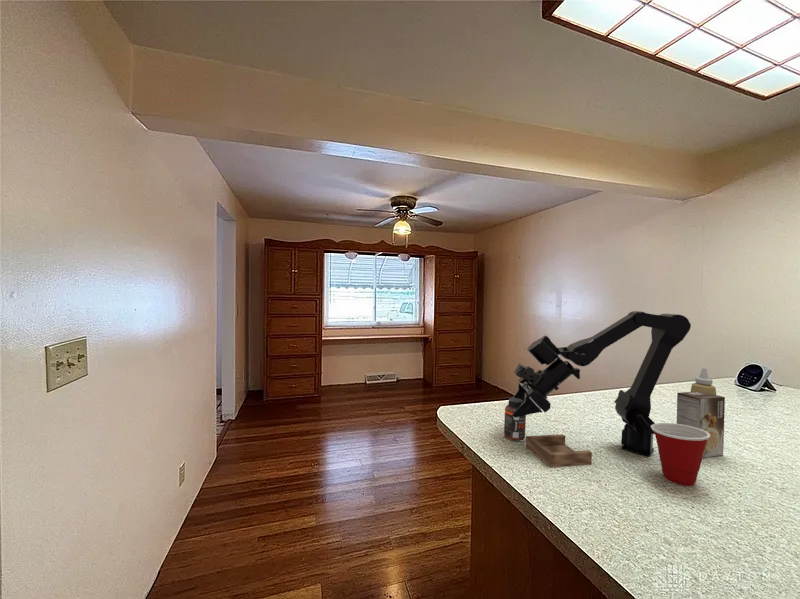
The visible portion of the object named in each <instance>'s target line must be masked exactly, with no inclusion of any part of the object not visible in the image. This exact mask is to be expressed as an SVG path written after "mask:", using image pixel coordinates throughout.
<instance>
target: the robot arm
mask: <svg viewBox="0 0 800 599" xmlns="http://www.w3.org/2000/svg"><path fill="white" fill-rule="evenodd" d="M691 326H692V325H691V322H690V320H689V319H688V318H687V317H686V316H685V315H681V314H677V313H676V314H675V313H661V314H655V313H654V314H653V313H648V312H645V311H639V310H638V311H637V310H633V311H630V312H628V314H626V315H625V316H624V317H622V318H620V319H619V320H617V321H616V322H614V323H612V324H610V325H609V326H607V327H605V328H604V329H602V330H600V331H599V332H597V333H596V334H594V335H592V336H590V337H587V338H584V339H580V340H578V341H575V342H573V343H571V344H569V345H568V346H563V347H557V345H555V344H554V343H553V342H552V341H551V339H550V338H549V336H548V335H543V336H542V337H541V338H538V339H536V340H534V341H533V342H532V343H531V344H530V345H529V346H528V347H527V349H526V350H527V352H528V353H529V354H531V356H532V357H533V358H534V359H535V360H536V361H537V362H538V363H539V364H540V365H546V366H547V367H546V368H544V369H543V370H541V369H538V370H537V371H535V369H534V368H532V367H531V366H529V365H528V366H525V365H524V364H521V363H518V364H517V366H516V368H515V370H514V371H513V373H514V374H515V376H517V377H518V378H519V379H518V381H517V390H516V392H515V393H514V395H513V396H512V398H518V399H521V400H523V403H522V404H521V405H520V406H519V407H518V408H517V409H516V410H515V412H514V413H513V416H514V417H515V418H516V417H520V416H524V415H526V416H528V415H531V414H538V413H540V414H541V413H547V412H548V411H549V410H551V402H550V401H549V400H548V395H549V394H550V393H551V392H553V391H554V390H555V391H557V390H560V388H559V386H560V385H562V383H564V382H565V381H566V380H567V379H568V378H569V377H571V376H573V377H574V378H576V379H577V380H580V379H581V374H580V373H581V369H580V368H578V367H587V366H589V365H590V364H592V363H593V362H594V361H595V360H596V359H597V358H598V357H599V356H600V354H601V353H603V351H604V350H605V349H606V348H608V347H609V346H611V345H613V344H615V343H616V342H618V341H620V340H621V339H623V338H624V337H626V336H629V334H632V333H633V332H634V331H636V330H638V329H639V328H642V327H648V328H651V332H650V333H651V343H650V344H649V345H650V346H649V347H648V350H647V352H646V354H645V356H644V358H643V360H642V362H641V365H640V366H639V369H638V370H637V371H638V372H637V373H636V376H635V378H634V380H633V382H632V385H631V387H629V388H628V389H627V390H625V391H624V390H622V389H620V390H619V391H618V395H617V397H616V399H615V400H614V401H613V402H614V403H615V405H614V407H615V411H616V413H617V415H618V416H620V418H621V420H622V422H623V423H625V425H624V427H623V429H622V430H621V444H620V445H622V446H621V450H625V451H628V452H632V453H635V454H638V455H642V456H645V457H651V456H652V454H653V452H654V450H655V448H654V446H653V445H654V444H653V443H654V435H655V434H654V431H653V430H652V428H651V425H653V424H656V422H655V421H653V420H652V418H650V413H651V410H652V403H651V401H652V400H651V396H652V395H653V394H652V393H653V391H654V389H655V388H656V385H657V382H658V380H659V378H660V376H661V375H662V372H663V369H664V368H665V365H666V363H667V361H668V359H669V357H670V354H671V352H672V350H673V349H674V348H676V346H678V344H680V343H681V342H682V341H684V340H685V337H686V336H687V335H688V333H689V332H690V330H691ZM560 356H561V357H562V358H564V359H566V360H563V359H562V358H561V357H560ZM572 364H574V365H576V366H578V367H574V366H573V365H572ZM507 405H509V403H508V404H507Z"/></svg>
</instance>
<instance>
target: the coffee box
mask: <svg viewBox="0 0 800 599" xmlns="http://www.w3.org/2000/svg"><path fill="white" fill-rule="evenodd" d="M676 396H677V398H676V400H677V401H676V424H682V425H687V426H692V427H696V428H699V429H702V430H704V431H706V432H708V433H709V434H710V437H709V439H708V440H707V444H706V447H705V449H704V453H703V457H702V459H703V458H711V457H718V456H724V438H725V437H724V436H725V410H726V409H725V406H726V405H725V404H726V402H725V401H726V400H725V399H726V397H725V396H721V395H717V394H716V395H714V394H710V393H705V392H701V391H698V392H691V391H686V392H685V391H684V392H677V395H676Z"/></svg>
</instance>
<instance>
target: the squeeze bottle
mask: <svg viewBox="0 0 800 599" xmlns="http://www.w3.org/2000/svg"><path fill="white" fill-rule="evenodd" d="M708 374H709V373H708V370H707V368H705V367H704V368H701V371H700V374H699V376H697V377H695V379H694V382H693V383H692V384H691V387H690V392H698V391H701V392H705V393H710V394H714V395H717V390H716V386H715V385H713V379H711V378H709V375H708Z"/></svg>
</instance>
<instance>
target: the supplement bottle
mask: <svg viewBox="0 0 800 599" xmlns="http://www.w3.org/2000/svg"><path fill="white" fill-rule="evenodd" d="M522 403H523V400H521V399H518V398H513V397H511V398H510V397H509V398H508V404H509V405H508V404H507V405H506V406H505V408H504V421H503V422H504V423H503V424H504V426H503V436H504V437H505V438H506V439H508V440H510V441H512V442H521V441H524V440H526V421H527V415H524V416H520V417H516V418H515V417H514V416H513V413H514V412H515V410H516V409H517V408H518V407H519V406H520V405H521V404H522Z"/></svg>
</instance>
